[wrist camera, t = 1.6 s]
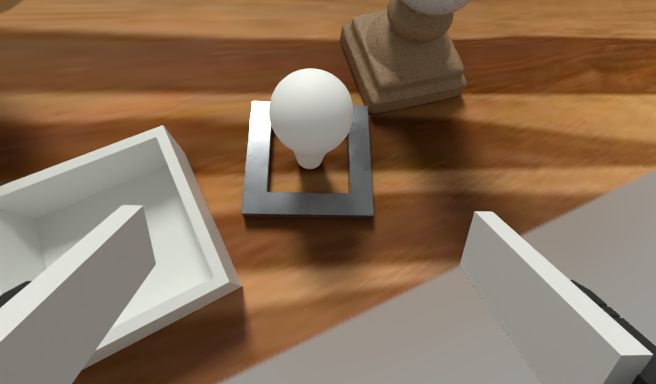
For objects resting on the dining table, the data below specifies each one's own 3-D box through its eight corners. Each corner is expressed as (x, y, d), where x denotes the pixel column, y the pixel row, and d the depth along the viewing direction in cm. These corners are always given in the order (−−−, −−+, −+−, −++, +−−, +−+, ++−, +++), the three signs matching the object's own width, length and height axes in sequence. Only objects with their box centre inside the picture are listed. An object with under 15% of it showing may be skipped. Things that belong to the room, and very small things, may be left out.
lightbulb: (352, 155, 31) (377, 79, 20) (316, 202, 29) (323, 145, 19) (302, 122, 32) (303, 33, 21) (264, 166, 30) (244, 91, 19)
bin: (27, 217, 26) (-32, 198, 22) (185, 153, 29) (163, 125, 25) (67, 377, 23) (6, 396, 18) (242, 286, 26) (229, 281, 21)
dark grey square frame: (243, 217, 28) (241, 213, 27) (253, 108, 32) (251, 100, 31) (370, 219, 29) (373, 215, 28) (365, 112, 33) (367, 105, 32)
